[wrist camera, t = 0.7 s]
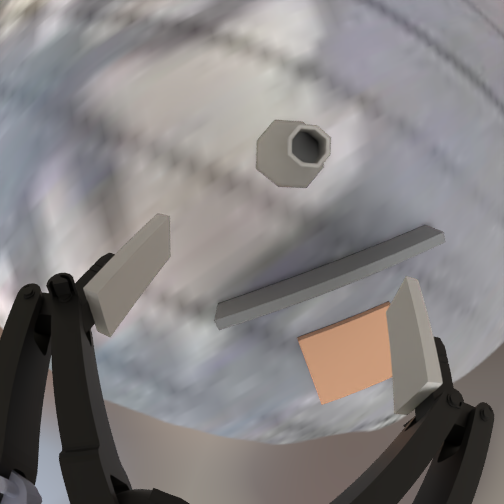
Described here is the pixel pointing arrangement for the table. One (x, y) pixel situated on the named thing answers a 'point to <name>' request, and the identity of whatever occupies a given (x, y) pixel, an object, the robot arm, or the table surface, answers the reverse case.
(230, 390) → the table surface
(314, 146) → the flask
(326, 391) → the terracotta tile
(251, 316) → the low wall
